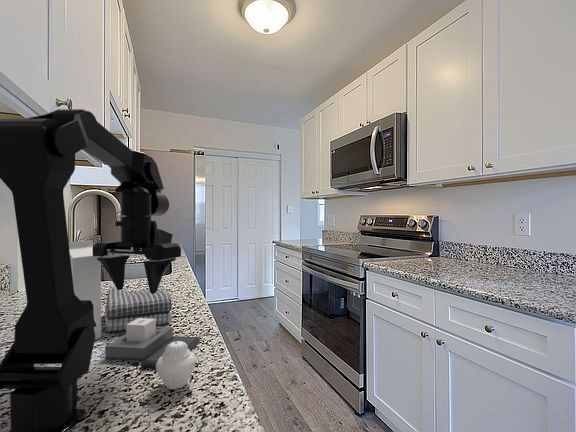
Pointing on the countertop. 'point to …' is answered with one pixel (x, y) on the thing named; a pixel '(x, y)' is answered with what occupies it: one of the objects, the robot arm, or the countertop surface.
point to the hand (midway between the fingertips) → (136, 291)
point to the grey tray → (137, 346)
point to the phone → (154, 357)
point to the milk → (87, 277)
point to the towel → (136, 307)
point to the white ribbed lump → (176, 365)
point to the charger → (141, 330)
